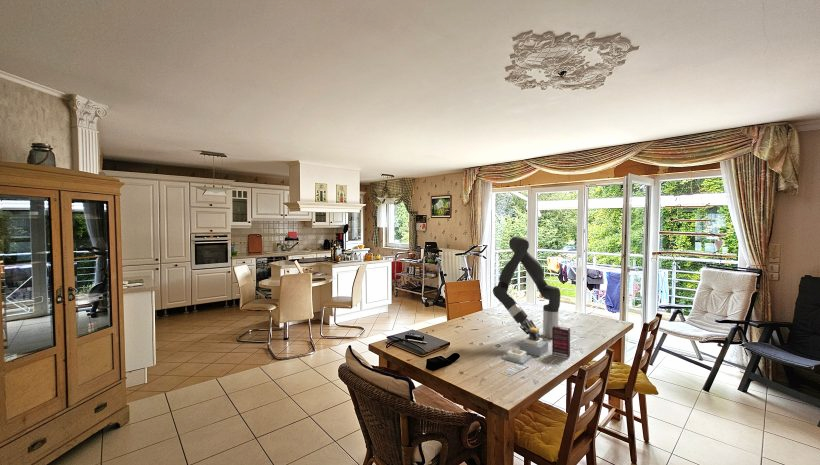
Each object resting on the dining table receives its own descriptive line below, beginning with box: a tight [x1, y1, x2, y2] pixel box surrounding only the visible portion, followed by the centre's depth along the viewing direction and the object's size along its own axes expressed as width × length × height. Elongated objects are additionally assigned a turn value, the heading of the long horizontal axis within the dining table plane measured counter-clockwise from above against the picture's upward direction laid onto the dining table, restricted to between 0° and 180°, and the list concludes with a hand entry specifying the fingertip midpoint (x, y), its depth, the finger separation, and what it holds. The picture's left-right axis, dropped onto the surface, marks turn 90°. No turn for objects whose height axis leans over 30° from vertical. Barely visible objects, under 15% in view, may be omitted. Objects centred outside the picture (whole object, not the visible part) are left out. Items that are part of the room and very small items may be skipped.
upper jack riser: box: [519, 336, 549, 357], centre depth 192 cm, size 12×12×7 cm
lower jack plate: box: [501, 347, 533, 365], centre depth 181 cm, size 12×12×4 cm
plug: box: [528, 327, 540, 341], centre depth 192 cm, size 4×4×8 cm
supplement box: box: [551, 325, 571, 360], centre depth 185 cm, size 9×5×16 cm, turn 53°
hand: (537, 337), depth 191 cm, fingers closed on plug, 4 cm apart
